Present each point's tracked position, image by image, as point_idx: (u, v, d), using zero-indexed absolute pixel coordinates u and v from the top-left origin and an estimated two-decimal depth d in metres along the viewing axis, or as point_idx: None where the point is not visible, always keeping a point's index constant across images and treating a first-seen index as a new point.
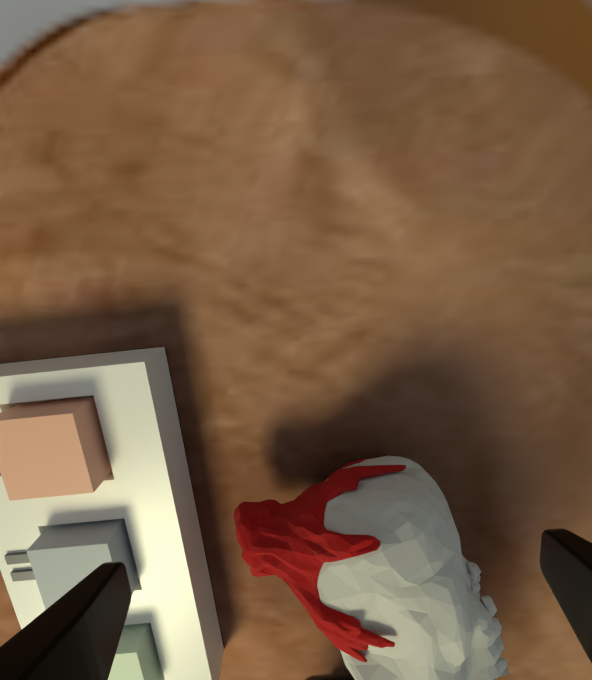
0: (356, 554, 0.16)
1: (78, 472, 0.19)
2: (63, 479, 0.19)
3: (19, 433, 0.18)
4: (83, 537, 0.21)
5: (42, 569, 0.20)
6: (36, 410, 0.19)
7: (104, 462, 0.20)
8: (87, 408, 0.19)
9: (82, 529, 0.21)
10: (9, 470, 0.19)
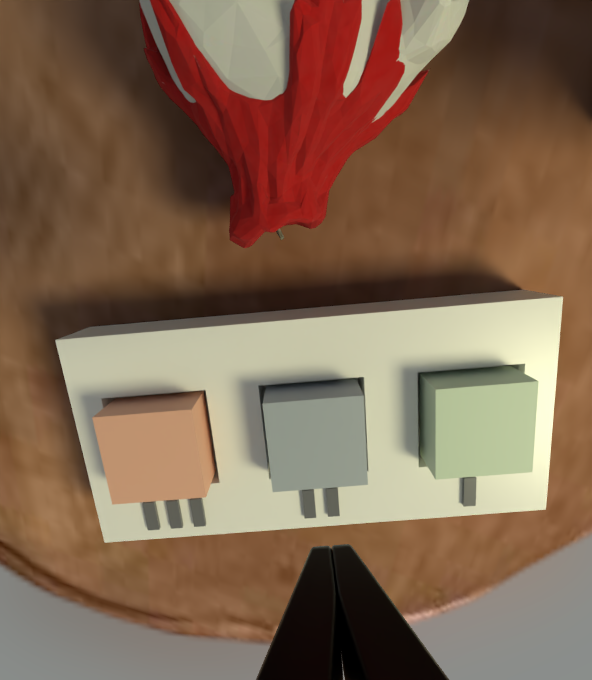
0: (174, 18, 0.10)
1: (166, 421, 0.17)
2: (175, 438, 0.17)
3: (122, 473, 0.17)
4: None
5: (298, 479, 0.17)
6: None
7: (183, 397, 0.18)
8: (112, 405, 0.18)
9: None
10: (167, 490, 0.17)
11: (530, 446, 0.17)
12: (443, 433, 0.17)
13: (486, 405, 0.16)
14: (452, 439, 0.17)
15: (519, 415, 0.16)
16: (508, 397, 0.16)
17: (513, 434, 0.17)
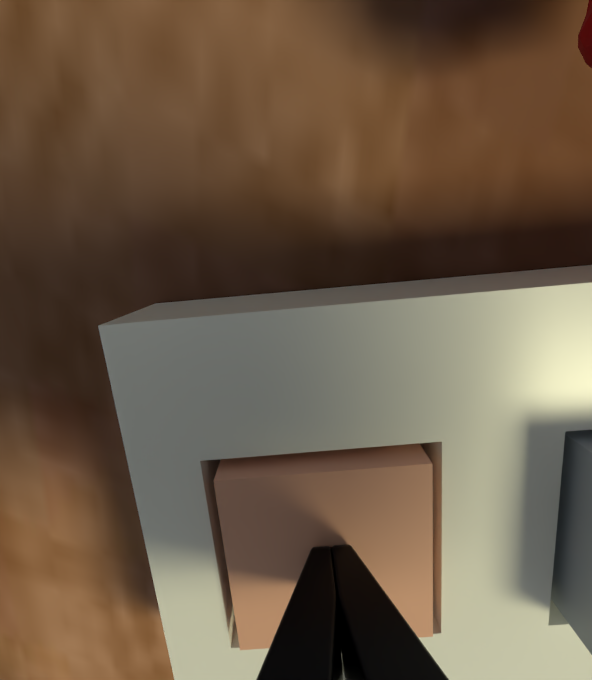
0: None
1: (373, 489, 0.08)
2: (388, 524, 0.08)
3: (266, 592, 0.08)
4: None
5: None
6: None
7: None
8: None
9: (577, 536, 0.08)
10: None
11: None
12: None
13: None
14: None
15: None
16: None
17: None
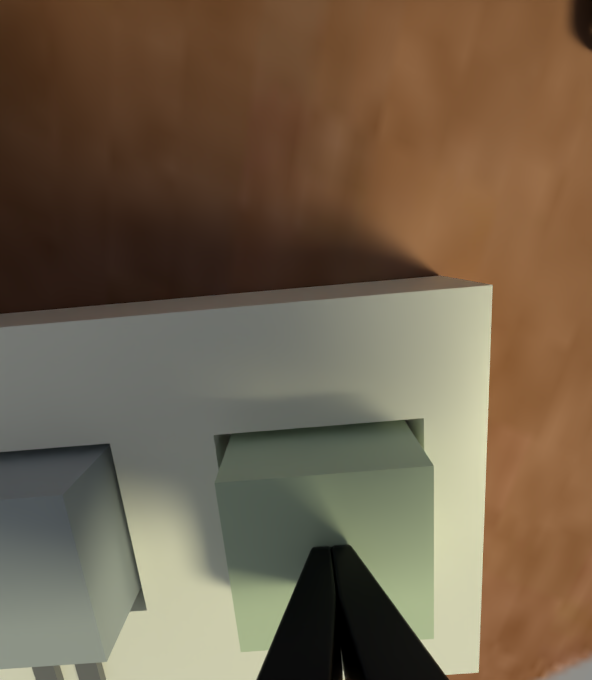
0: None
1: None
2: None
3: None
4: None
5: None
6: None
7: None
8: None
9: None
10: None
11: (426, 592, 0.08)
12: (244, 568, 0.08)
13: (326, 514, 0.08)
14: (265, 580, 0.08)
15: (398, 532, 0.08)
16: (372, 498, 0.08)
17: (389, 571, 0.08)
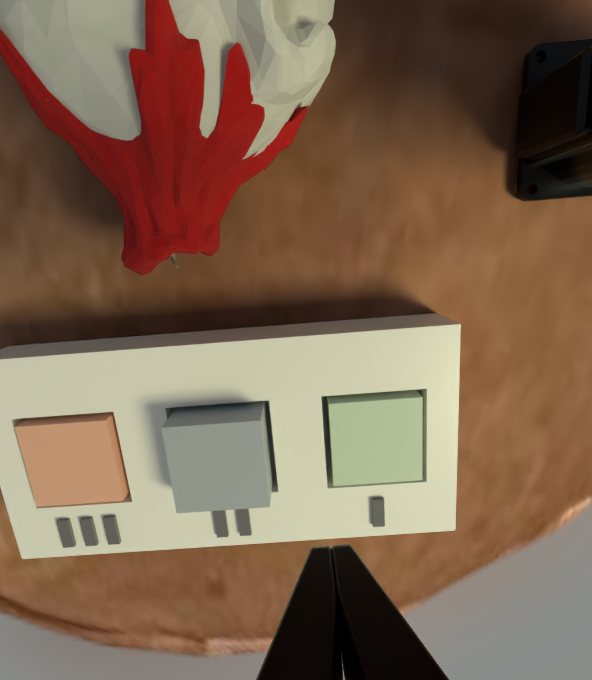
0: (21, 65, 0.11)
1: (83, 431, 0.18)
2: (92, 447, 0.18)
3: (44, 478, 0.19)
4: None
5: (201, 501, 0.17)
6: None
7: None
8: None
9: None
10: (87, 494, 0.19)
11: (419, 456, 0.18)
12: (338, 444, 0.18)
13: (375, 418, 0.18)
14: (347, 449, 0.18)
15: (407, 427, 0.18)
16: (395, 411, 0.18)
17: (402, 445, 0.18)
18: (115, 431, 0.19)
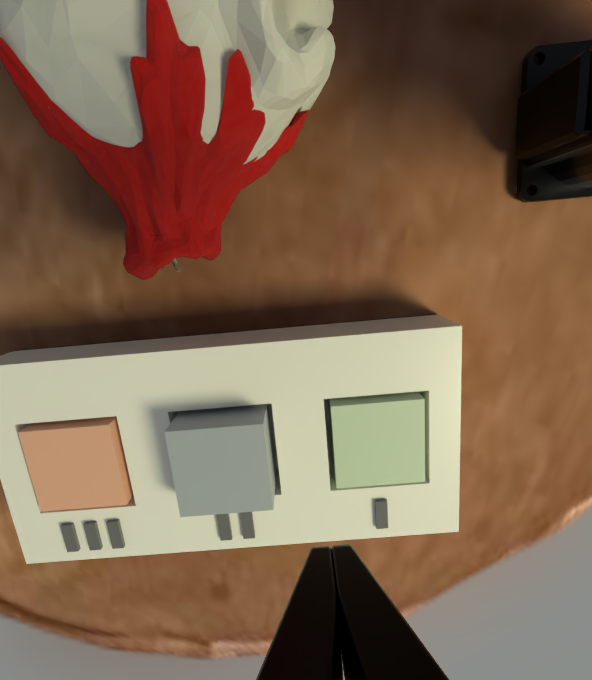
0: (22, 74, 0.11)
1: (86, 436, 0.18)
2: (95, 451, 0.18)
3: (48, 483, 0.19)
4: None
5: (205, 505, 0.17)
6: None
7: None
8: None
9: None
10: (91, 499, 0.19)
11: (421, 458, 0.18)
12: (340, 446, 0.18)
13: (378, 420, 0.18)
14: (349, 452, 0.18)
15: (409, 429, 0.18)
16: (398, 413, 0.18)
17: (405, 447, 0.18)
18: (118, 435, 0.19)
